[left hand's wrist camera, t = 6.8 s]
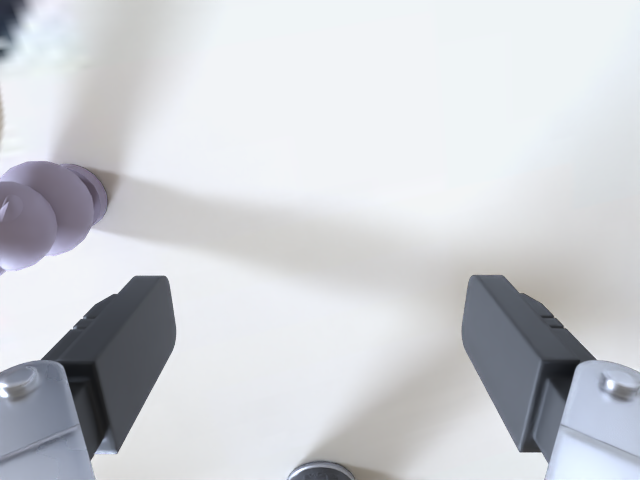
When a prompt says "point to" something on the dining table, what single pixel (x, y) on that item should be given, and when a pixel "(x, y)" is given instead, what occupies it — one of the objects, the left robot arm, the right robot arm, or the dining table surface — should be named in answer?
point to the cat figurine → (46, 211)
